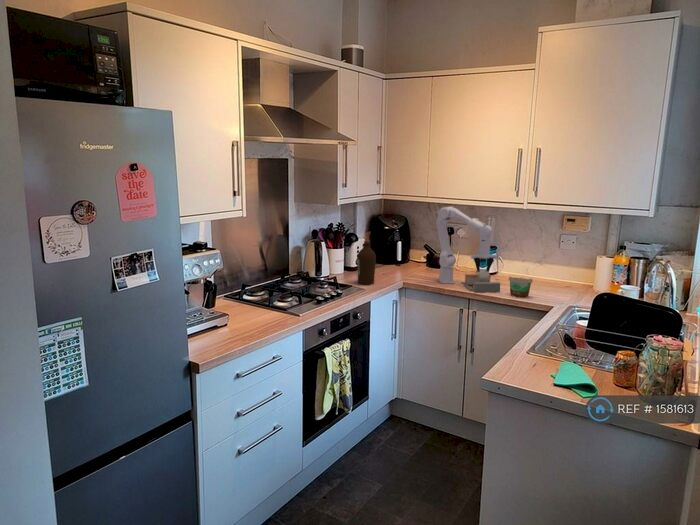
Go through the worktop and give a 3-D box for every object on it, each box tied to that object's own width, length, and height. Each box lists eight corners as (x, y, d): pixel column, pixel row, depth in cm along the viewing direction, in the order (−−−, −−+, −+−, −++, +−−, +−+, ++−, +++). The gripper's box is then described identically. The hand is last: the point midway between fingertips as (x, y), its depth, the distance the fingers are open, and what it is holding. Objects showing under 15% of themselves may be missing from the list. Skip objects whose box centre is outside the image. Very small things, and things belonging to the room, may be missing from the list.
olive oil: (375, 281, 299) (376, 239, 294) (374, 285, 289) (375, 242, 283) (357, 280, 300) (358, 238, 295) (356, 285, 289) (356, 241, 284)
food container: (505, 295, 272) (506, 277, 270) (507, 293, 278) (509, 275, 276) (529, 299, 267) (531, 280, 265) (531, 296, 272) (532, 278, 270)
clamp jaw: (464, 284, 295) (465, 273, 294) (488, 283, 297) (488, 273, 295) (466, 285, 292) (467, 275, 291) (490, 285, 293) (490, 275, 292)
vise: (461, 283, 297) (461, 275, 296) (488, 283, 299) (489, 275, 298) (472, 292, 278) (473, 283, 277) (501, 292, 280) (502, 283, 279)
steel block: (476, 280, 289) (477, 269, 287) (484, 280, 289) (485, 269, 287) (479, 283, 284) (480, 271, 282) (487, 283, 285) (489, 271, 283)
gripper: (474, 248, 278) (472, 273, 281) (500, 248, 279) (498, 272, 282) (470, 246, 285) (468, 270, 288) (495, 246, 286) (493, 270, 289)
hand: (482, 271), depth 285 cm, fingers closed on steel block, 5 cm apart
